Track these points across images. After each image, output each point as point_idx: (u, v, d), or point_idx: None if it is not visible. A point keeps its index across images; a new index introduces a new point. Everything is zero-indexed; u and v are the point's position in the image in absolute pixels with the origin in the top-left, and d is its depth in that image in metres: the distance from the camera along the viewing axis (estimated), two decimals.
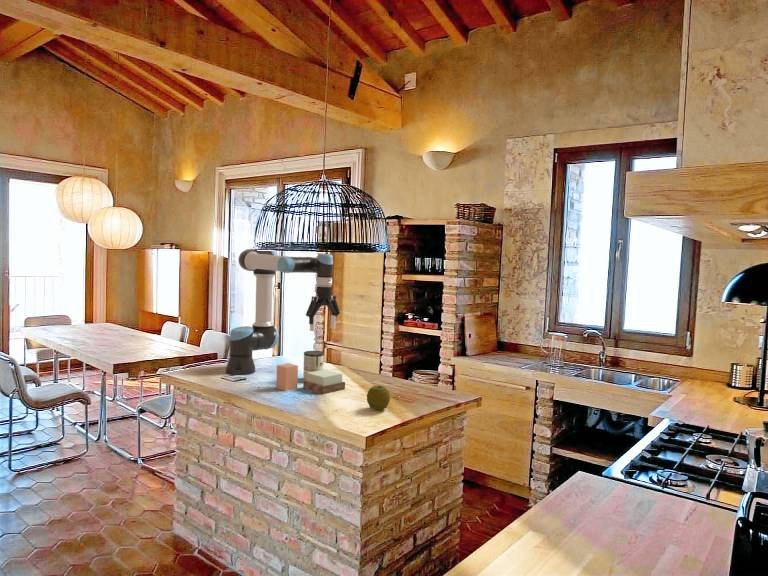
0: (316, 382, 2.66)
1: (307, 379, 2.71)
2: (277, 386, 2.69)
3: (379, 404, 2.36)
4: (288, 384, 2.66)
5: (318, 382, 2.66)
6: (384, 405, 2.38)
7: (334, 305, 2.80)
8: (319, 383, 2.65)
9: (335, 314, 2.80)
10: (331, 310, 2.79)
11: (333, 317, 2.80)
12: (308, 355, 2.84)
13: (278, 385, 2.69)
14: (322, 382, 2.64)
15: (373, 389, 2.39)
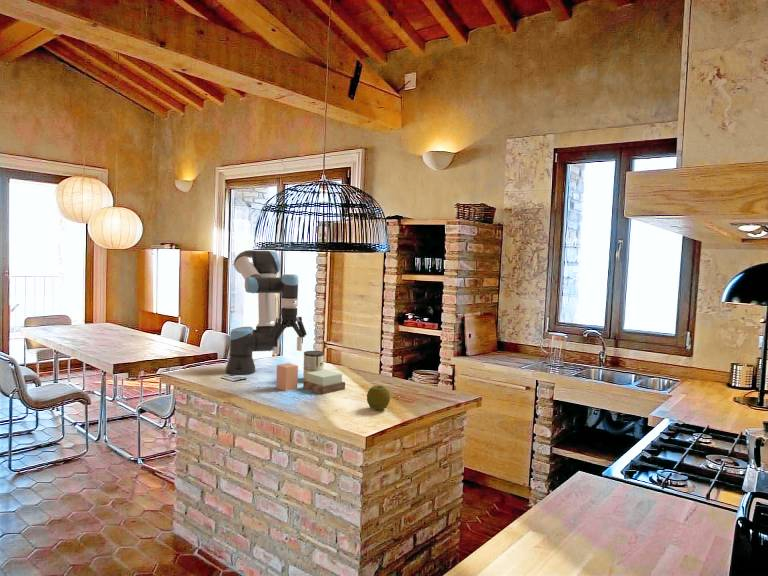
0: (316, 382, 2.67)
1: (307, 379, 2.71)
2: (277, 386, 2.69)
3: (379, 404, 2.36)
4: (288, 384, 2.66)
5: (318, 382, 2.66)
6: (384, 405, 2.38)
7: (300, 326, 2.73)
8: (319, 383, 2.65)
9: (301, 336, 2.73)
10: (297, 332, 2.72)
11: (299, 339, 2.73)
12: (308, 355, 2.84)
13: (278, 385, 2.69)
14: (322, 382, 2.64)
15: (373, 389, 2.39)
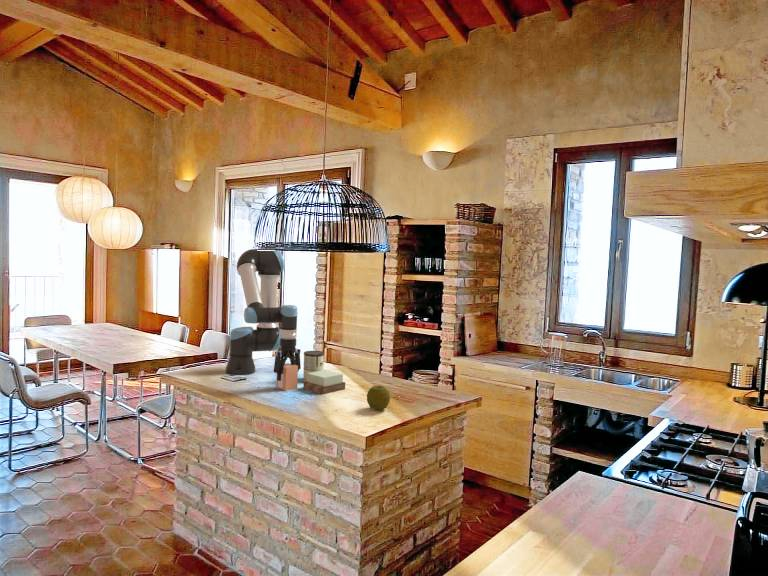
0: (317, 383, 2.66)
1: (307, 380, 2.70)
2: (277, 386, 2.69)
3: (379, 404, 2.36)
4: (288, 384, 2.66)
5: (319, 382, 2.65)
6: (384, 405, 2.38)
7: (297, 359, 2.73)
8: (320, 383, 2.65)
9: None
10: None
11: None
12: (308, 355, 2.84)
13: None
14: (323, 382, 2.64)
15: (373, 389, 2.39)
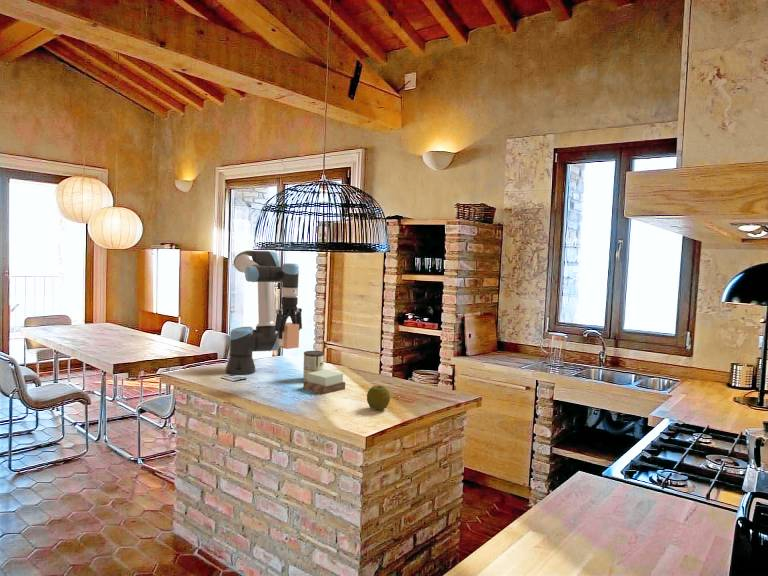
0: (318, 382, 2.66)
1: (308, 380, 2.70)
2: (278, 344, 2.68)
3: (379, 404, 2.36)
4: (289, 342, 2.65)
5: (320, 382, 2.66)
6: (384, 405, 2.38)
7: (298, 318, 2.72)
8: (321, 383, 2.65)
9: None
10: (294, 323, 2.70)
11: None
12: (308, 355, 2.84)
13: None
14: (324, 382, 2.64)
15: (373, 389, 2.39)
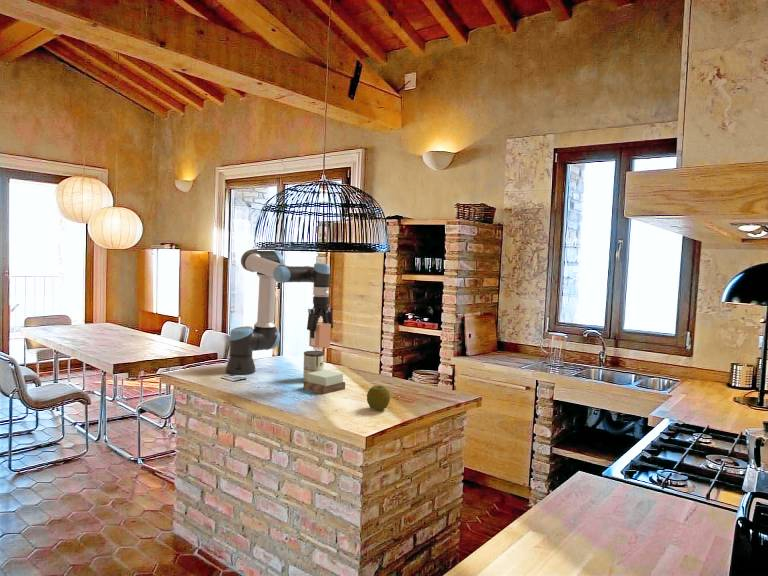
0: (318, 382, 2.66)
1: (308, 380, 2.70)
2: (310, 344, 2.69)
3: (379, 404, 2.36)
4: (321, 342, 2.66)
5: (320, 382, 2.65)
6: (384, 405, 2.38)
7: (329, 318, 2.73)
8: (321, 383, 2.65)
9: None
10: None
11: None
12: (308, 355, 2.84)
13: None
14: (324, 382, 2.64)
15: (373, 389, 2.39)
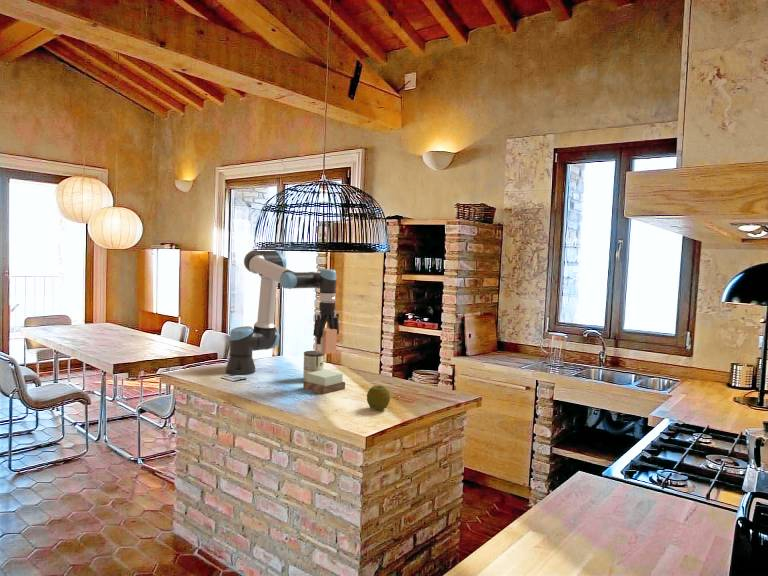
0: (317, 382, 2.66)
1: (307, 380, 2.70)
2: (316, 349, 2.70)
3: (379, 404, 2.36)
4: (328, 347, 2.67)
5: (319, 382, 2.65)
6: (384, 405, 2.38)
7: (335, 323, 2.74)
8: (320, 383, 2.65)
9: None
10: (331, 328, 2.72)
11: None
12: (308, 355, 2.84)
13: None
14: (324, 382, 2.64)
15: (373, 389, 2.39)
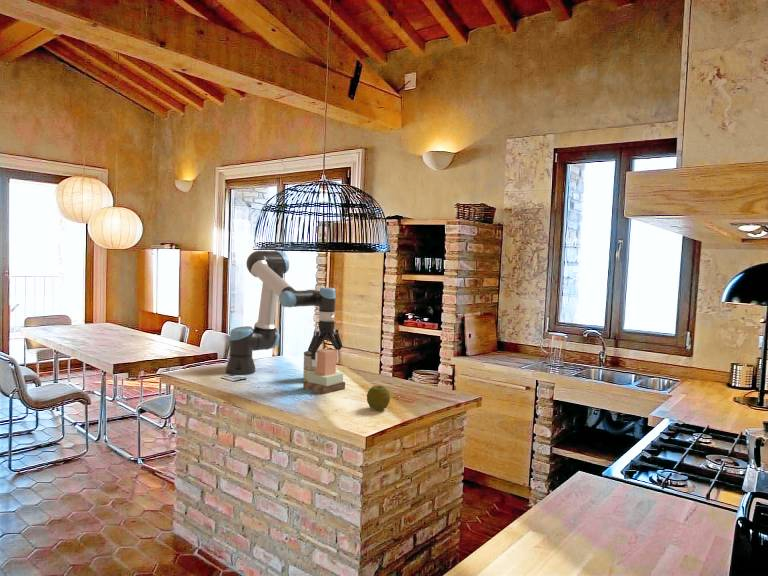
0: (318, 382, 2.66)
1: (308, 380, 2.70)
2: (315, 371, 2.71)
3: (379, 404, 2.36)
4: (327, 369, 2.68)
5: (321, 382, 2.65)
6: (384, 405, 2.38)
7: (337, 339, 2.76)
8: (322, 383, 2.65)
9: (338, 348, 2.75)
10: (334, 344, 2.75)
11: (336, 351, 2.75)
12: (308, 355, 2.84)
13: (317, 370, 2.70)
14: (325, 382, 2.64)
15: (373, 389, 2.39)
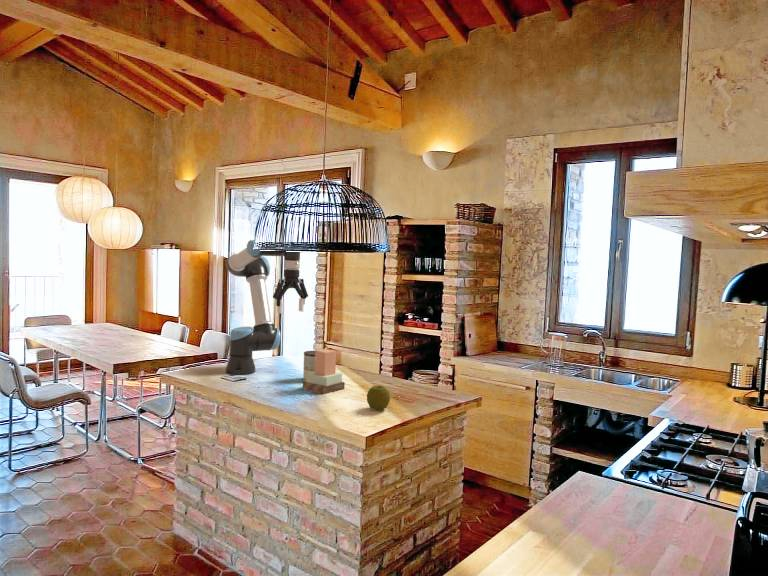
0: (318, 383, 2.66)
1: (307, 380, 2.69)
2: (315, 371, 2.70)
3: (379, 404, 2.36)
4: (327, 369, 2.67)
5: (320, 383, 2.65)
6: (384, 405, 2.38)
7: (302, 288, 2.85)
8: (321, 383, 2.65)
9: (303, 297, 2.85)
10: (299, 293, 2.84)
11: (301, 300, 2.85)
12: (308, 355, 2.84)
13: (316, 370, 2.70)
14: (325, 382, 2.64)
15: (373, 389, 2.39)
